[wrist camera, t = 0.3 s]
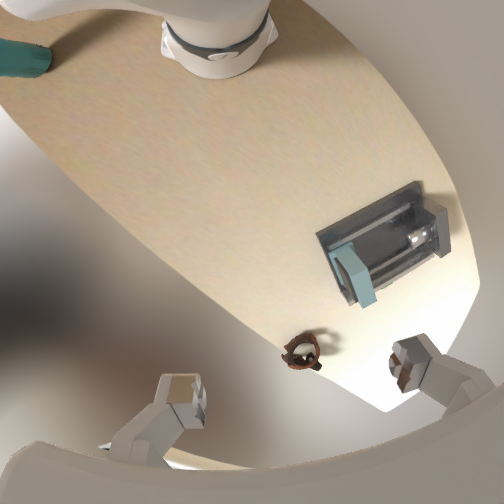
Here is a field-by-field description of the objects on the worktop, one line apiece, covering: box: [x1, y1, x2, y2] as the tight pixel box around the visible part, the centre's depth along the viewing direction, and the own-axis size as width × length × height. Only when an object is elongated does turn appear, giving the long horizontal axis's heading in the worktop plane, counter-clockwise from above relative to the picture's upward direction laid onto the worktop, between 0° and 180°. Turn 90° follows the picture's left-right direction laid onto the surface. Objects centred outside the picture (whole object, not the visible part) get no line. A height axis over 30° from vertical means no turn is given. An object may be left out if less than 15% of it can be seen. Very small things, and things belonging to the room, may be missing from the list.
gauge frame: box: [315, 181, 451, 306], centre depth 48 cm, size 24×16×10 cm, turn 118°
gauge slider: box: [328, 241, 377, 308], centre depth 49 cm, size 5×13×9 cm, turn 28°
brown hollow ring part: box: [282, 334, 322, 371], centre depth 62 cm, size 12×10×8 cm
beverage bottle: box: [0, 38, 52, 78], centre depth 21 cm, size 6×7×20 cm
